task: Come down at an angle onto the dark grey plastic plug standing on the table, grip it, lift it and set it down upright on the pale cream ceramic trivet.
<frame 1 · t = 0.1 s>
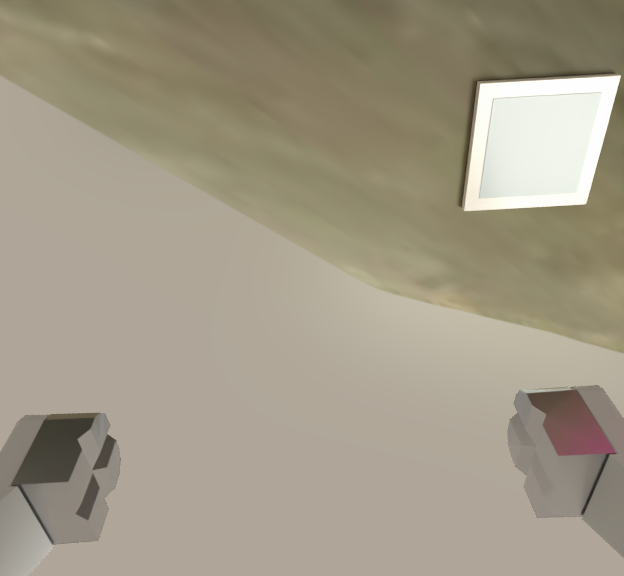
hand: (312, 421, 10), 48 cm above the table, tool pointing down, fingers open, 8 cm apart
trivet: (533, 145, 57), on the table
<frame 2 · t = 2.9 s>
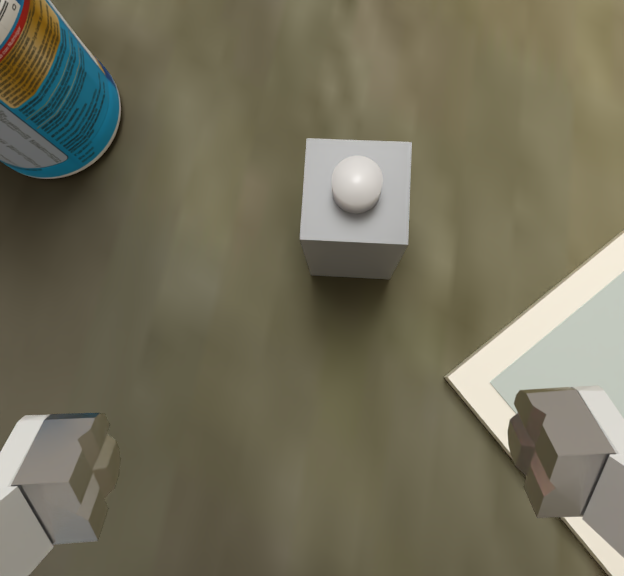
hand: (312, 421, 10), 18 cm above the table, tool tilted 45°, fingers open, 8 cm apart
plug: (352, 239, 30), on the table
beverage bottle: (60, 119, 32), on the table
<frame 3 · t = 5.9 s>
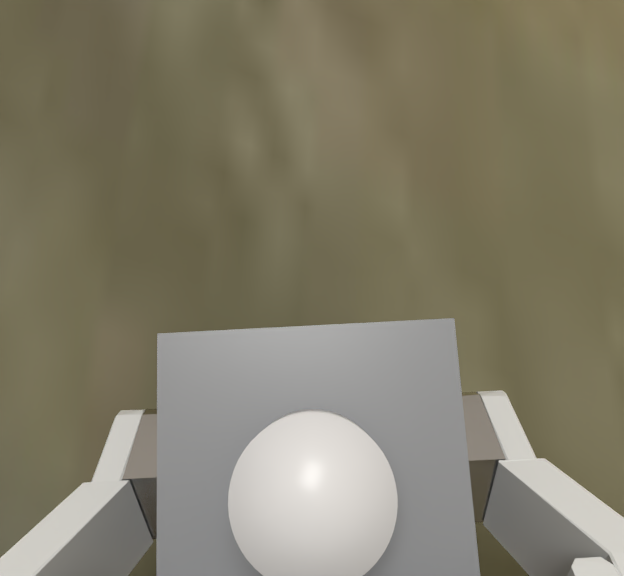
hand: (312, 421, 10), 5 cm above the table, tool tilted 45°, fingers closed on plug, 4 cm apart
plug: (315, 432, 15), on the table, touching gripper
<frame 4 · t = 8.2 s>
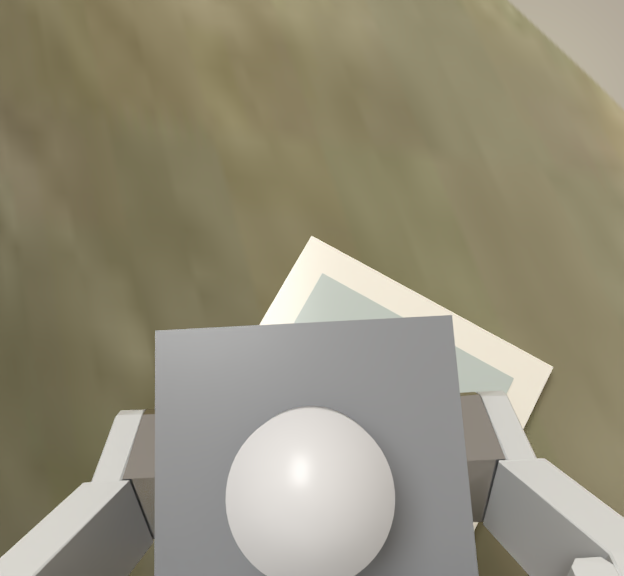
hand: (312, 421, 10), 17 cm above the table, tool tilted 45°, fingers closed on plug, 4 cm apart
plug: (314, 430, 15), point 12 cm above the table, touching gripper
trivet: (363, 419, 27), on the table
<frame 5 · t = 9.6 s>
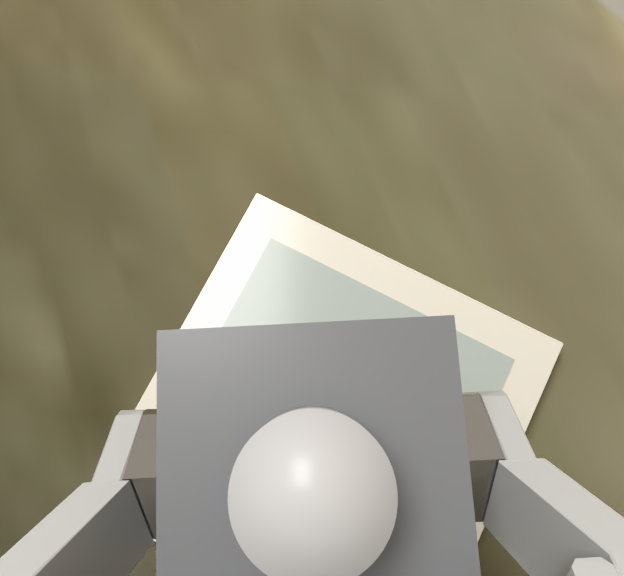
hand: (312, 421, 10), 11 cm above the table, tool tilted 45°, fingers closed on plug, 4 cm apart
plug: (315, 430, 15), point 6 cm above the table, touching gripper
trivet: (328, 418, 22), on the table
when the fingers open (7 cm above the table, at t = 10.7 s): plug drops 1 cm, resting on trivet.
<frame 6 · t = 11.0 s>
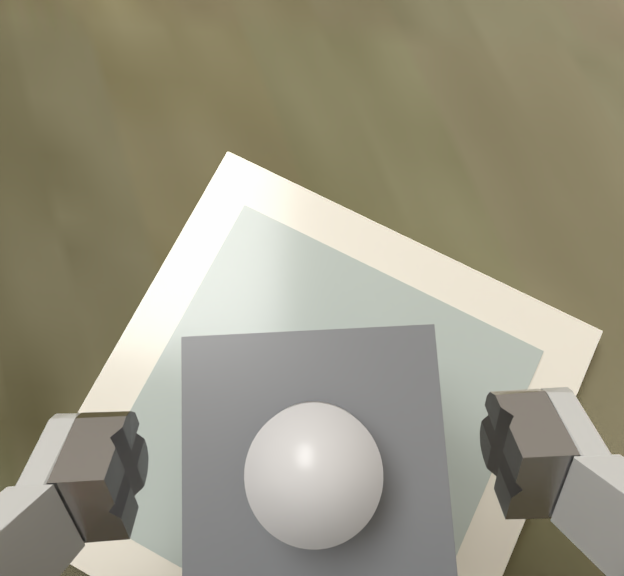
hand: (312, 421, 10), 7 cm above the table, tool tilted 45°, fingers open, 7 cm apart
plug: (315, 425, 17), point 1 cm above the table, touching trivet
trivet: (315, 425, 18), on the table
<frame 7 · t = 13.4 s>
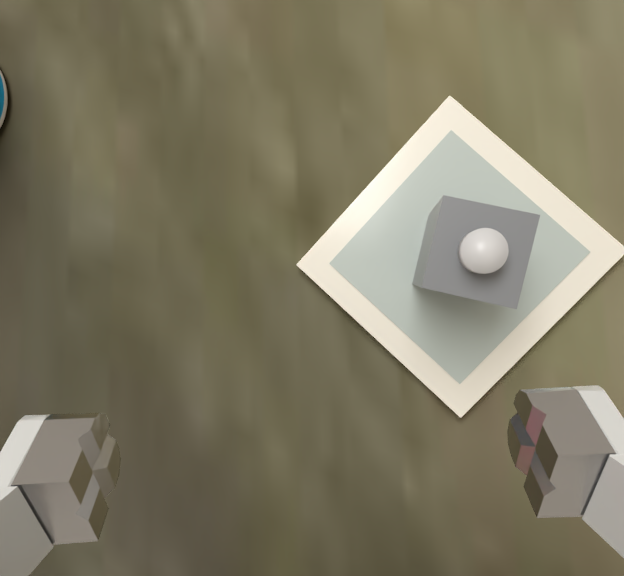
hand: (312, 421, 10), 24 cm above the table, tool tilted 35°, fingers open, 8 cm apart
plug: (456, 256, 32), point 1 cm above the table, touching trivet
trivet: (453, 258, 33), on the table
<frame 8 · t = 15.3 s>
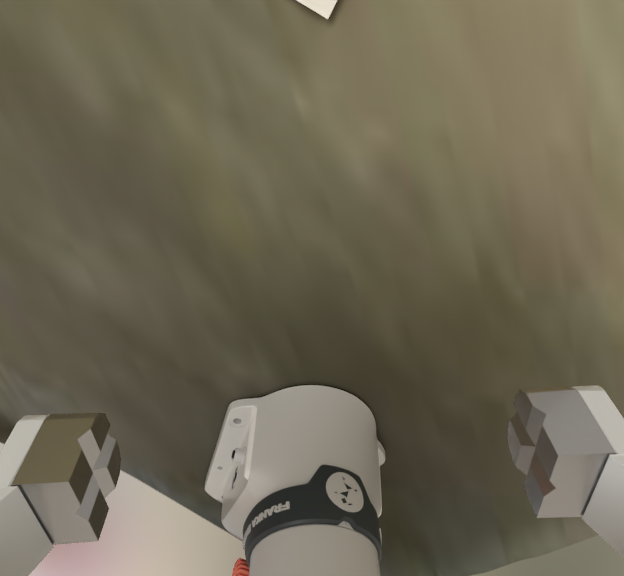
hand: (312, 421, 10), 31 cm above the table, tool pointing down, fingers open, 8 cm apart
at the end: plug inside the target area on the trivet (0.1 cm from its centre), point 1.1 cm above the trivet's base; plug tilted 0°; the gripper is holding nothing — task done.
